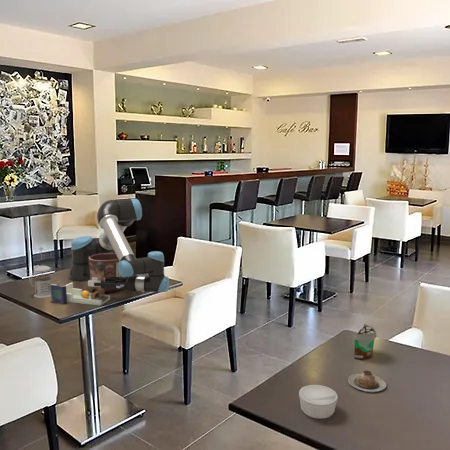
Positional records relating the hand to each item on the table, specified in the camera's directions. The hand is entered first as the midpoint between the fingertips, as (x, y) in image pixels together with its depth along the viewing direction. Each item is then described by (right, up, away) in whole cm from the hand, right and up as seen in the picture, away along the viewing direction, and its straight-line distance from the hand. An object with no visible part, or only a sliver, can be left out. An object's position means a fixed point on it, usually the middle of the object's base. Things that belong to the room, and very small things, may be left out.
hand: (90, 281), depth 235 cm
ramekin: (+93, -27, -94) cm, 135 cm away
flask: (-15, -10, 0) cm, 18 cm away
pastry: (+112, -25, -78) cm, 139 cm away
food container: (+118, -21, -58) cm, 133 cm away
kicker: (+4, -9, +1) cm, 10 cm away
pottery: (+3, -7, +21) cm, 22 cm away
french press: (-28, -8, +11) cm, 31 cm away
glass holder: (+21, -5, +33) cm, 39 cm away
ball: (-3, -7, +3) cm, 8 cm away
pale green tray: (-3, -10, +4) cm, 11 cm away
